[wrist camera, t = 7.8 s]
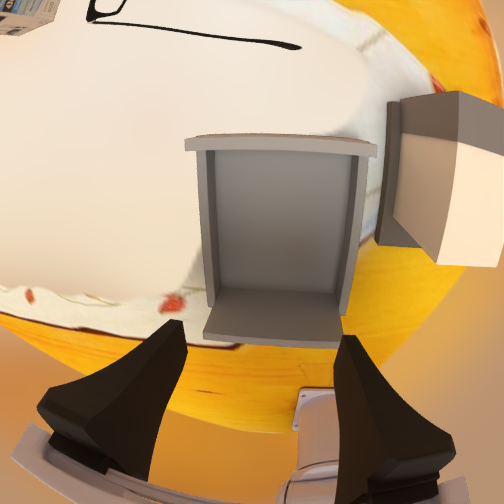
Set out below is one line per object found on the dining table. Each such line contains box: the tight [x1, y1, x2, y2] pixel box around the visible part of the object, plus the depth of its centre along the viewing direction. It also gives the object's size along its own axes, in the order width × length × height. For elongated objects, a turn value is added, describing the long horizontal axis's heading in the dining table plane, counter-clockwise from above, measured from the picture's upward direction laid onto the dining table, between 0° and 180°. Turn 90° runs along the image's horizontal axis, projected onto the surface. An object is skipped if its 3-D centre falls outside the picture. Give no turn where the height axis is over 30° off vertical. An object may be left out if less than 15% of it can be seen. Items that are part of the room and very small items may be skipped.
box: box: [393, 91, 504, 267], centre depth 12 cm, size 8×5×7 cm, turn 0°
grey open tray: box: [185, 133, 377, 349], centre depth 17 cm, size 12×10×6 cm
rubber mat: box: [375, 102, 422, 248], centre depth 16 cm, size 10×6×1 cm, turn 0°
